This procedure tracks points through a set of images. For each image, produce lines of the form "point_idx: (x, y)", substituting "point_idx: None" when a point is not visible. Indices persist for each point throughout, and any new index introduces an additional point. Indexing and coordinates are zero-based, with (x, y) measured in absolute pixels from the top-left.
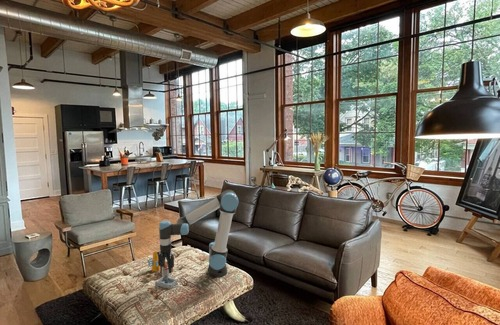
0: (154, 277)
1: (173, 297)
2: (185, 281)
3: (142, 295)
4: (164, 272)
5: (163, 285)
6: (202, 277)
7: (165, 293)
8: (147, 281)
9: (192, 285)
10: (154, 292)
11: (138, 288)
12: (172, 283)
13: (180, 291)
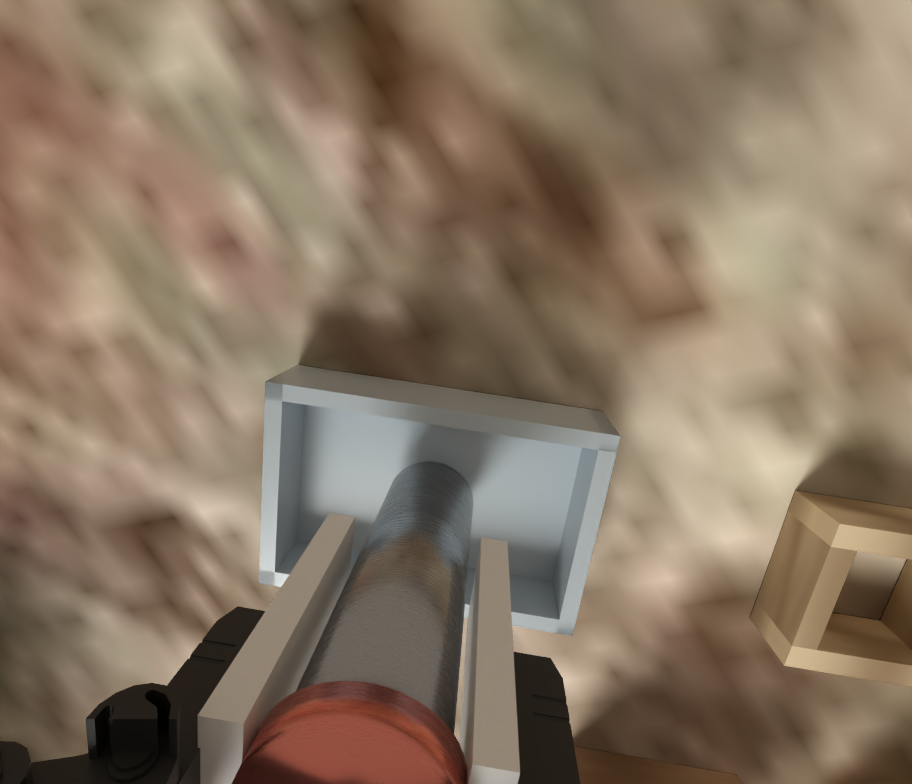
0: (760, 627)
1: (82, 121)
2: (211, 613)
3: (689, 13)
4: (414, 606)
5: (435, 395)
6: (59, 739)
7: (293, 210)
8: (833, 499)
9: (46, 532)
10: (508, 189)
11: (904, 246)
12: (264, 447)
13: (98, 333)
